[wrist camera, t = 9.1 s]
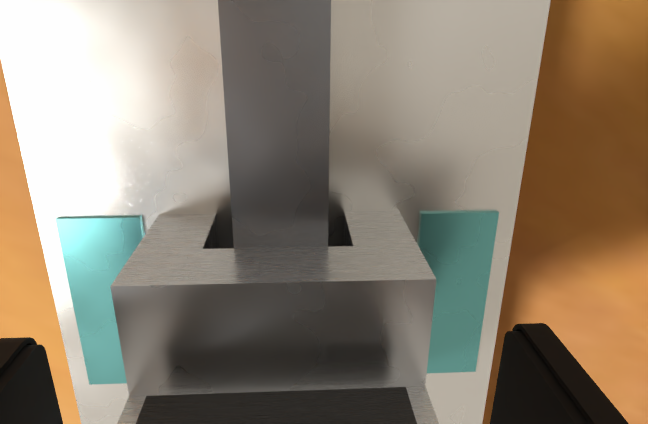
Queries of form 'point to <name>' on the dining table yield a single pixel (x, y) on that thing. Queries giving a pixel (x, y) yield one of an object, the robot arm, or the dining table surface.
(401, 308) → the notched grey block
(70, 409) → the dining table surface
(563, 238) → the dining table surface
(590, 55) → the dining table surface
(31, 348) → the robot arm
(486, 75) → the grey vise fixture
